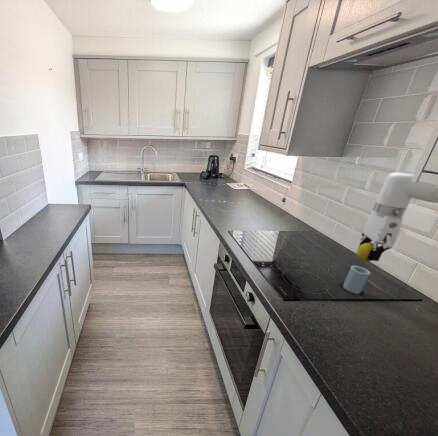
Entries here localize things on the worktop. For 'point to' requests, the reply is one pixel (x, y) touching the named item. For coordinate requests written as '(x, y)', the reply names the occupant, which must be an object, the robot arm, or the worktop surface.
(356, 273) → the cup
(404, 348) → the worktop surface
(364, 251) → the lemon
